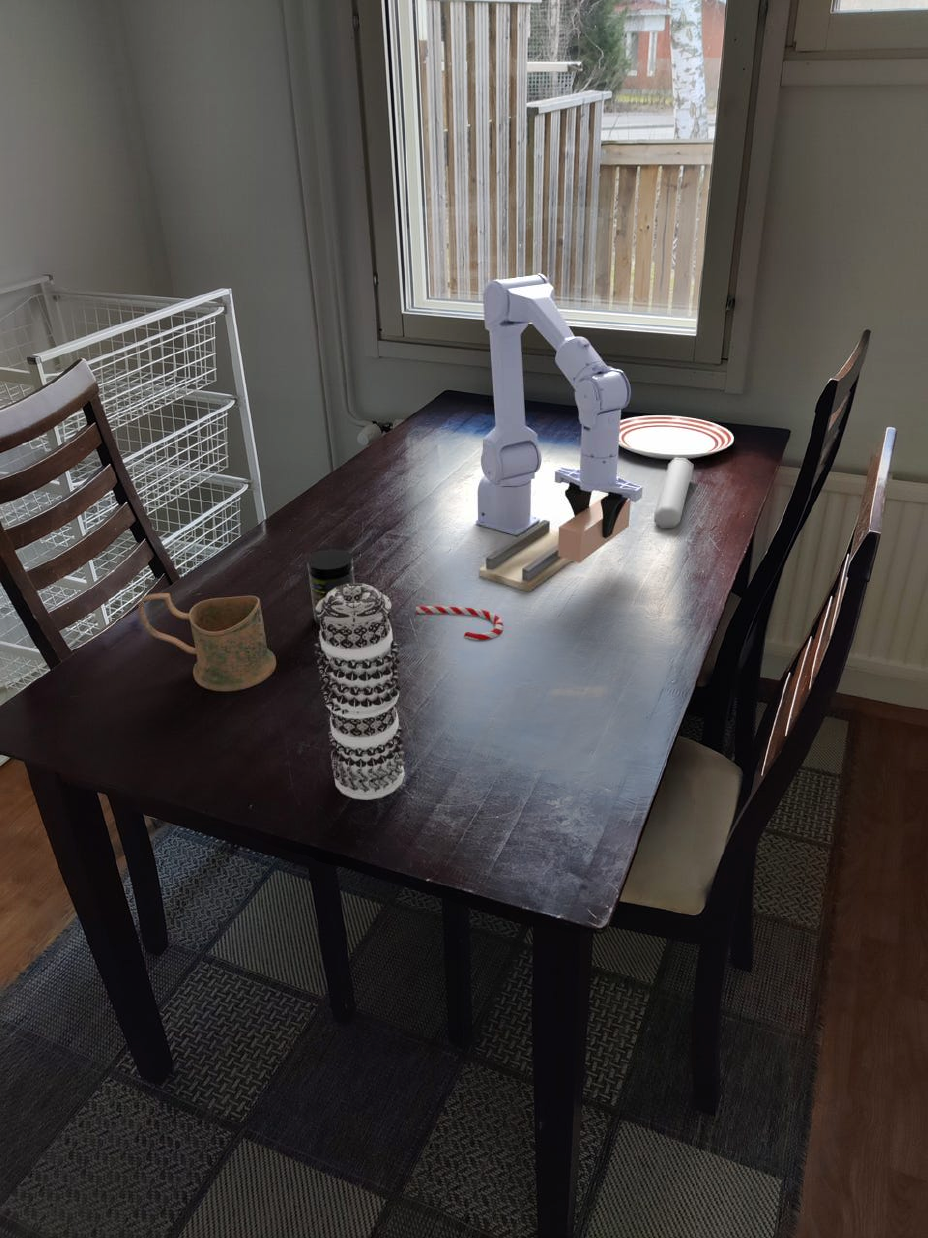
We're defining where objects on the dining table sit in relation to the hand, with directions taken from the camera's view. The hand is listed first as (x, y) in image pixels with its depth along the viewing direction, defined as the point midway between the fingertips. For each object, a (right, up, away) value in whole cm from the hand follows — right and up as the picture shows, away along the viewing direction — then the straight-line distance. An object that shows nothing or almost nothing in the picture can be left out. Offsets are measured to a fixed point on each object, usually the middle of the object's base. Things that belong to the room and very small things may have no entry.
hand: (594, 532), depth 148 cm
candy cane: (-22, -15, -7) cm, 28 cm away
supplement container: (-41, -14, -5) cm, 44 cm away
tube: (+19, +8, +29) cm, 36 cm away
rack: (-9, -4, +10) cm, 14 cm away
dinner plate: (+25, +24, +57) cm, 67 cm away
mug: (-57, -21, -17) cm, 63 cm away
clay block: (0, -1, +1) cm, 2 cm away
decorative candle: (-32, -33, -38) cm, 60 cm away
